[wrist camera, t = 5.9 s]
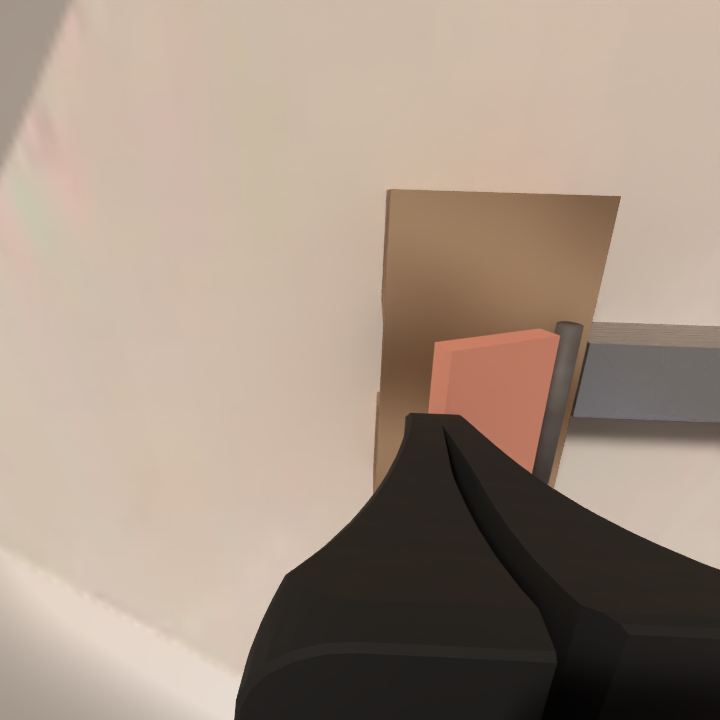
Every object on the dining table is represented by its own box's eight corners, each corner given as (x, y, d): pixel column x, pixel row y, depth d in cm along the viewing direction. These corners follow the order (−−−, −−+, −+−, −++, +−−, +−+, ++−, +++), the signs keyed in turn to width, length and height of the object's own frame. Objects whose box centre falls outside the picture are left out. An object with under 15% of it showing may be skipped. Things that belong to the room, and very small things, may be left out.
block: (504, 476, 20) (546, 568, 15) (373, 471, 20) (373, 559, 15) (555, 195, 15) (637, 196, 11) (386, 190, 16) (392, 189, 11)
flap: (528, 490, 13) (432, 521, 12) (512, 477, 14) (419, 506, 13) (560, 335, 12) (451, 351, 10) (539, 328, 12) (435, 342, 11)
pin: (759, 412, 18) (845, 461, 15) (540, 403, 19) (577, 450, 15) (802, 306, 17) (910, 334, 13) (561, 298, 17) (608, 324, 13)
